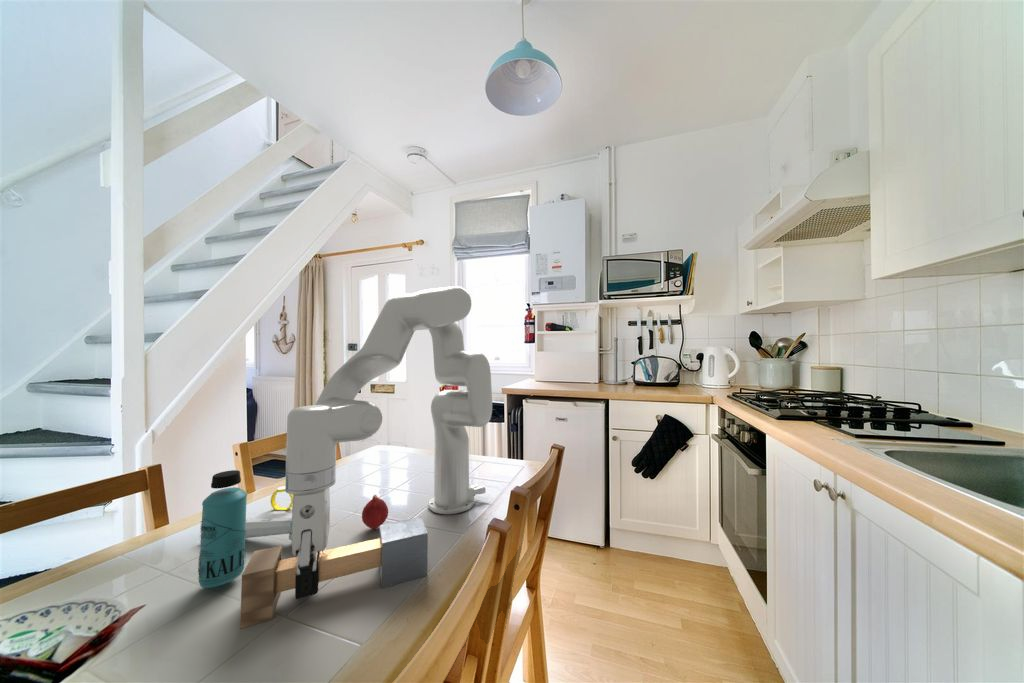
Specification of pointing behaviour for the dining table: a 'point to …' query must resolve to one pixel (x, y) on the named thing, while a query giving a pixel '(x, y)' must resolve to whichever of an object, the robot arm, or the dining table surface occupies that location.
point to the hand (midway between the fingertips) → (309, 583)
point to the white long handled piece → (268, 527)
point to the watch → (273, 502)
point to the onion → (374, 513)
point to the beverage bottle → (223, 531)
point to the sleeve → (403, 551)
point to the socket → (259, 587)
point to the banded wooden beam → (332, 563)
